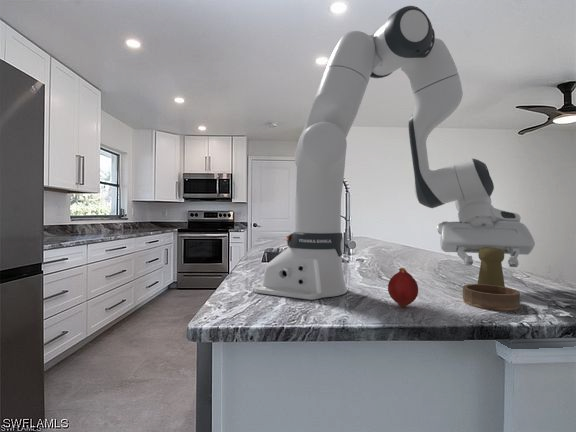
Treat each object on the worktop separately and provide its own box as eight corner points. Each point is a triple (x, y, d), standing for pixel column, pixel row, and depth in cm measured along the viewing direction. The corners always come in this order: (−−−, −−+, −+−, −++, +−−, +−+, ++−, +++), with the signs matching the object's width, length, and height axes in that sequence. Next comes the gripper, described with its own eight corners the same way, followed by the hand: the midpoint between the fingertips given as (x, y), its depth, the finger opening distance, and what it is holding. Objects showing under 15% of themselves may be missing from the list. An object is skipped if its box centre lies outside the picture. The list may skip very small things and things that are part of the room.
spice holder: (470, 308, 65) (470, 293, 65) (458, 296, 74) (458, 282, 74) (528, 312, 62) (528, 296, 62) (508, 299, 72) (508, 285, 72)
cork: (511, 298, 73) (511, 249, 73) (481, 296, 74) (482, 248, 74) (499, 292, 79) (499, 246, 79) (472, 290, 80) (472, 246, 80)
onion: (393, 301, 70) (393, 264, 70) (421, 306, 66) (421, 267, 66) (383, 307, 65) (384, 267, 65) (413, 313, 62) (414, 271, 62)
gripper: (437, 213, 86) (445, 254, 77) (526, 214, 81) (546, 258, 72) (434, 229, 91) (441, 270, 81) (518, 231, 85) (536, 274, 76)
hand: (491, 264), depth 76 cm, fingers open, 8 cm apart
